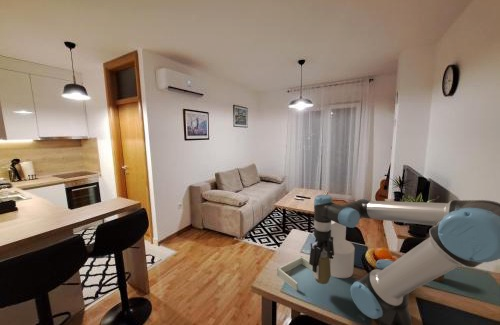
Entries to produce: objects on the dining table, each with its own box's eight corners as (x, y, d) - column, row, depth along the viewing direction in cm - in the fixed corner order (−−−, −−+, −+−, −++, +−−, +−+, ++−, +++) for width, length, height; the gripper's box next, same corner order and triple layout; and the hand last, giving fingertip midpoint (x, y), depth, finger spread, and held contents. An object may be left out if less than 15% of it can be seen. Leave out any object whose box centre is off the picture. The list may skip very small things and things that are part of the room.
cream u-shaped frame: (321, 275, 111) (321, 268, 110) (296, 291, 101) (296, 283, 100) (301, 262, 123) (301, 256, 122) (277, 275, 112) (277, 268, 112)
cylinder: (314, 266, 119) (315, 220, 115) (330, 254, 129) (332, 212, 125) (342, 283, 105) (345, 231, 101) (359, 269, 116) (362, 221, 112)
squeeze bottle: (332, 287, 94) (333, 250, 92) (313, 285, 96) (314, 248, 94) (329, 275, 102) (329, 241, 100) (312, 273, 104) (312, 239, 101)
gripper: (329, 220, 104) (328, 262, 107) (300, 231, 93) (300, 278, 96) (343, 225, 98) (341, 269, 101) (314, 238, 87) (313, 287, 90)
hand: (321, 273), depth 98 cm, fingers closed on squeeze bottle, 8 cm apart
